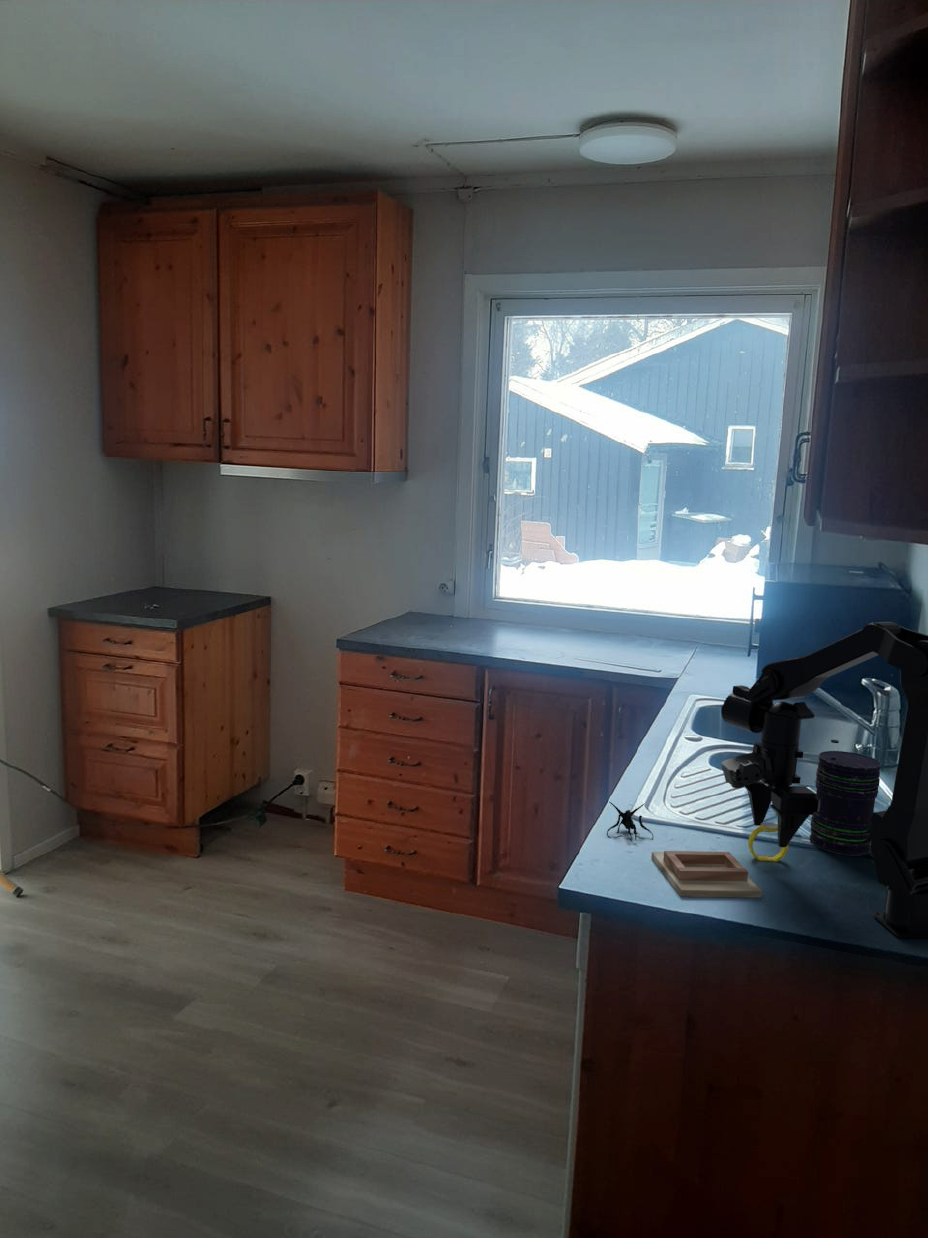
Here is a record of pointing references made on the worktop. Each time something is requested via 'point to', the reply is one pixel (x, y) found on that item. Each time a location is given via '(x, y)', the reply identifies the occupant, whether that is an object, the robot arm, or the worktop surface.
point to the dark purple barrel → (845, 802)
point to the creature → (628, 821)
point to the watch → (770, 828)
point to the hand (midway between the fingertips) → (769, 835)
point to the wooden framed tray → (705, 874)
